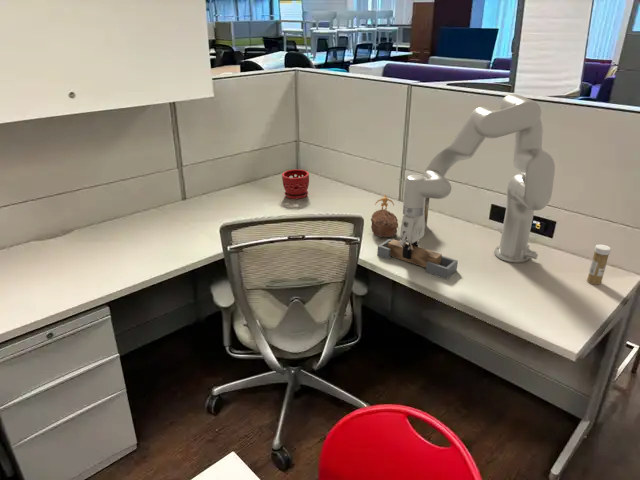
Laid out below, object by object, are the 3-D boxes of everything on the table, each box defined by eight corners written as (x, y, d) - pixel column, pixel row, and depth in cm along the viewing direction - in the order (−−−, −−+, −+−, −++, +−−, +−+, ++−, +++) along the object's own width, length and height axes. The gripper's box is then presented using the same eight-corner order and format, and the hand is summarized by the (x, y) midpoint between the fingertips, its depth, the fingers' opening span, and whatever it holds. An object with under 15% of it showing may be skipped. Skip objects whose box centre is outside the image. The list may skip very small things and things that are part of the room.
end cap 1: (399, 251, 189) (400, 242, 187) (388, 259, 184) (389, 249, 182) (388, 248, 192) (389, 238, 190) (377, 255, 186) (377, 246, 185)
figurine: (392, 217, 219) (394, 192, 214) (393, 223, 214) (395, 197, 209) (373, 217, 220) (375, 191, 215) (374, 222, 214) (375, 196, 209)
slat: (440, 266, 177) (441, 254, 175) (435, 270, 174) (436, 258, 172) (392, 251, 189) (393, 239, 187) (387, 254, 186) (387, 242, 184)
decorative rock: (367, 228, 209) (368, 206, 205) (393, 226, 210) (395, 205, 206) (373, 241, 198) (374, 218, 193) (401, 240, 198) (402, 217, 194)
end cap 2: (456, 270, 176) (457, 260, 174) (446, 279, 170) (447, 269, 168) (436, 263, 180) (437, 254, 179) (425, 272, 175) (426, 262, 173)
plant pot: (282, 192, 249) (281, 169, 244) (308, 191, 251) (307, 168, 245) (283, 201, 238) (282, 178, 232) (310, 200, 239) (310, 176, 234)
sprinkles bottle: (602, 286, 165) (612, 250, 160) (586, 283, 167) (596, 248, 161) (600, 280, 169) (610, 245, 163) (585, 277, 171) (594, 242, 165)
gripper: (411, 219, 166) (407, 267, 174) (434, 205, 178) (429, 250, 185) (392, 214, 170) (389, 261, 178) (416, 200, 182) (412, 245, 190)
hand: (410, 255), depth 182 cm, fingers closed on slat, 4 cm apart
